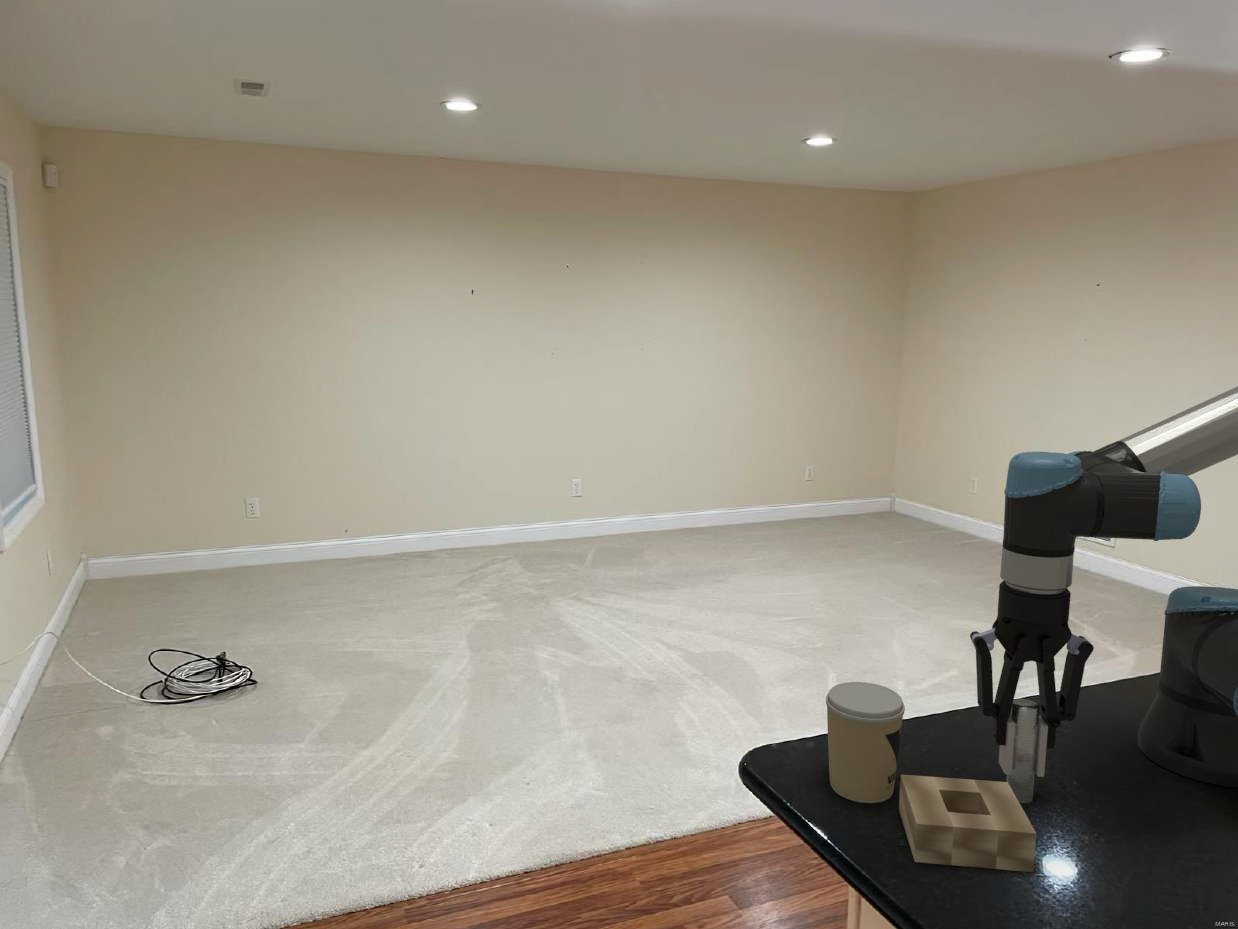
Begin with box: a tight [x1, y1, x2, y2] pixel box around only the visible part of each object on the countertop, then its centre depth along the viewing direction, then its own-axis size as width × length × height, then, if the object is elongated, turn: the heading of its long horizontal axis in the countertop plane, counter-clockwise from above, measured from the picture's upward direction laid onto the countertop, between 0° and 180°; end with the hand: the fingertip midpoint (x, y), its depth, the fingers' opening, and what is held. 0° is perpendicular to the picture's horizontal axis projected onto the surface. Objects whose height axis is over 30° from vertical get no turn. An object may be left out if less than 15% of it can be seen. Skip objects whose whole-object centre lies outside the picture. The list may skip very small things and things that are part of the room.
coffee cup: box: [825, 681, 906, 804], centre depth 103 cm, size 9×9×12 cm
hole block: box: [898, 774, 1037, 873], centre depth 93 cm, size 12×10×4 cm
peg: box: [1005, 698, 1041, 804], centre depth 101 cm, size 3×3×12 cm
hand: (1021, 769), depth 101 cm, fingers closed on peg, 3 cm apart
